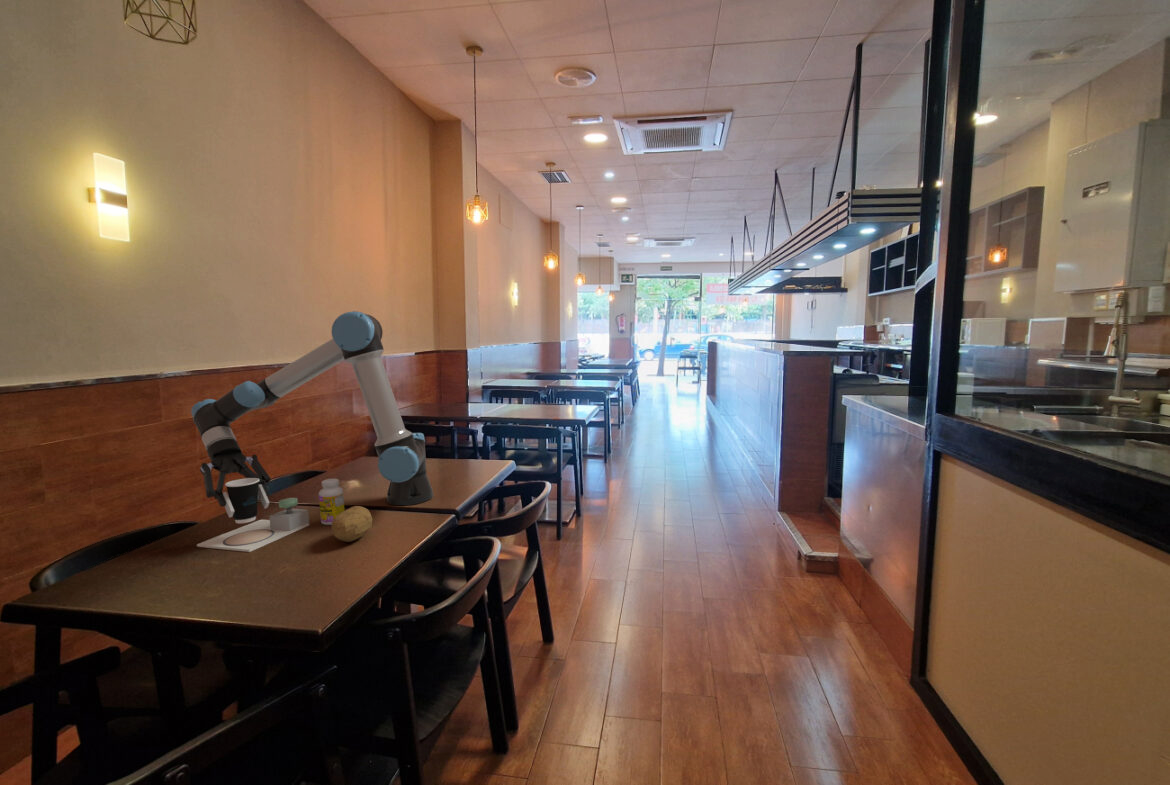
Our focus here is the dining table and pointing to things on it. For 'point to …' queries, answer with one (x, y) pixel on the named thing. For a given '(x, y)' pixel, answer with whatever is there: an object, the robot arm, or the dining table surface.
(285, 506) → the button
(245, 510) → the dixie cup
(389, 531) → the dining table surface
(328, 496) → the supplement bottle
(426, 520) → the dining table surface
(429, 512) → the dining table surface
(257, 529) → the grey base with block
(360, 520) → the potato
